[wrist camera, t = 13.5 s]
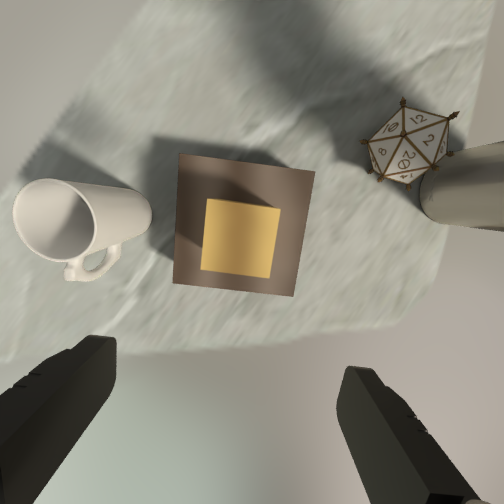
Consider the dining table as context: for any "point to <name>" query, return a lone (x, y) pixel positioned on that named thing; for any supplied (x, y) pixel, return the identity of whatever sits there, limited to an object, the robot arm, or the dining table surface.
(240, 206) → the ochre block
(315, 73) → the dining table surface
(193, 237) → the riser
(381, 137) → the game die
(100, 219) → the mug
